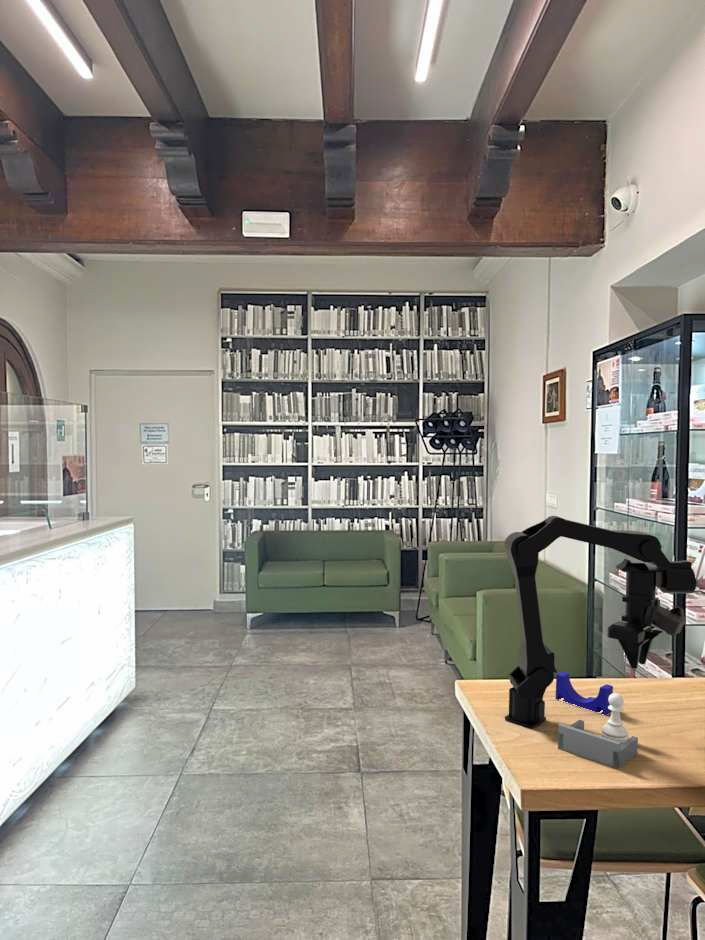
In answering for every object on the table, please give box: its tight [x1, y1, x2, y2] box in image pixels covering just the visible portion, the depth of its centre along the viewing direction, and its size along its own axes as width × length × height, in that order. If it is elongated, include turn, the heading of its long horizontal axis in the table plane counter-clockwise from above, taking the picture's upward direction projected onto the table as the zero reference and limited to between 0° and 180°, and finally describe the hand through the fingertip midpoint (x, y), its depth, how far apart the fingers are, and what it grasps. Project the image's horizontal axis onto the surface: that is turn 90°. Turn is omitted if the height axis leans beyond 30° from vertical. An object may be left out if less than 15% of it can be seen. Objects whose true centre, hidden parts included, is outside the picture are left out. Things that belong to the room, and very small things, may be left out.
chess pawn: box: [600, 692, 630, 744], centre depth 134 cm, size 5×5×9 cm
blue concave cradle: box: [555, 671, 614, 716], centre depth 152 cm, size 12×4×6 cm, turn 43°
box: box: [557, 719, 639, 770], centre depth 129 cm, size 12×9×4 cm
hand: (638, 666), depth 142 cm, fingers open, 4 cm apart
